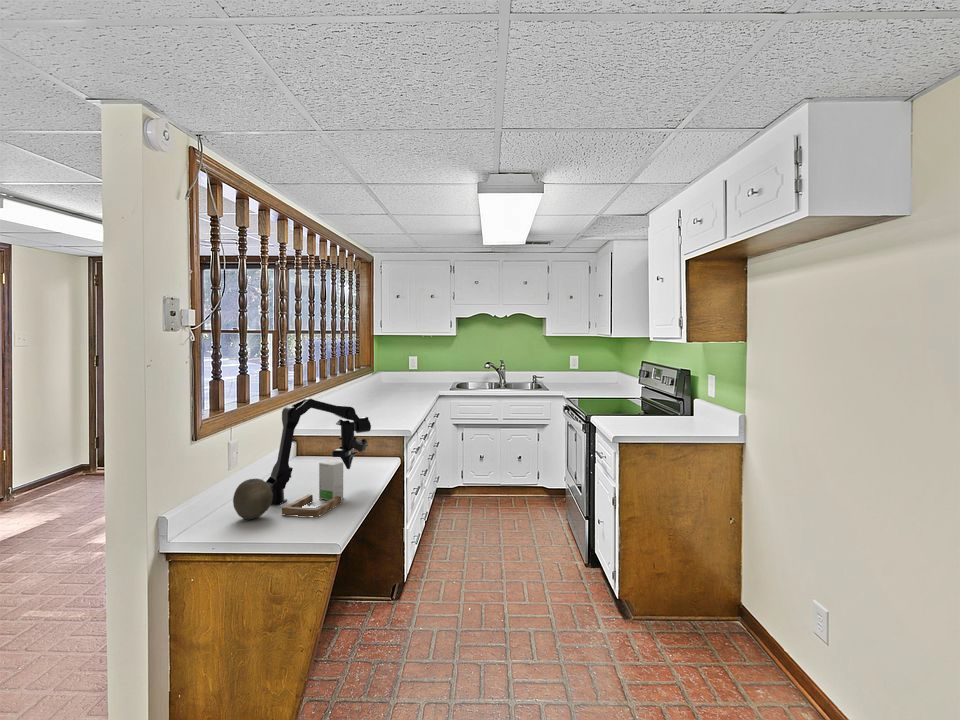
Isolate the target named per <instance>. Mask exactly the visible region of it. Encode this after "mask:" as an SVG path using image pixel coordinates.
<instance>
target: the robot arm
mask: <svg viewBox="0 0 960 720" xmlns="http://www.w3.org/2000/svg"><path fill="white" fill-rule="evenodd" d="M311 409H315V410H319V411H323V412H326V413H329V414H330V413H331V414H333V415H335V416H337V417H339V418H341V419H338V421H337V422H336V423H335V425H337V426H340V436H339V437H338V439H339V440H340V441H341V442H340V444H341V445H340V446H339V448H336V449H334V450H333V451H332V452H331V455H332V457H333V458H340V460H341V461H342V462H343V465H344V466H345V468H346V470H350V469H351V467H352V463H353V459H354V457H355V455H357V454H358V452H360V453H363V452H364V451H366V448H367V447H368V439H366V438H362V439H358V437H357V436H356V435H355V433H357V434H359V433H368V432H370V431H371V429H372V424H371V421H370V420H369V416H363V417H359V416H358V414H357V413H356V410H355V408H354V407H352V406H349V405H341V404H340V405H338V404H336V405H335V404H331V403H328V402H324V401H321V400H320V401H319V400H316V399H313V398H310V397H305V398H304V399H302V400H300V401H297V402H296V403H293V404H292V405H289V406H285V407H284V408H283V409H282V410H281V422H282V423H281V424H282V432H281V438H280V443H279V449H278V454H277V455H278V456H277V460H276V463H275V464H274V465H273V467H272V470H271V473H270V476H269V478H267V480H266V481H265V482H266V483H267V484H268V485H269V486H270V488H271V490H272V493H273V498H272V503H271V505H274V504H279V505H281V504H283V503H285V501H286V502H287V501H288V499H287V498H286V499H285V490H286V487H287V484H288V483H289V481H290V478H291V479H292V472H293V470H294V469H293V467H291V466H290V463H289V462H290V456H291V450H292V445H293V439H294V435H295V434H294V433H295V429H296V428H297V426H298V424H299V422H300V419H301V416H303V415H305V414H306V413H307V412H308V411H309V410H311ZM343 419H344V420H343ZM355 450H356V451H355ZM357 451H358V452H357ZM282 502H283V503H282ZM280 503H281V504H280Z"/></svg>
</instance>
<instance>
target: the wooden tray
mask: <svg viewBox="0 0 960 720" xmlns="http://www.w3.org/2000/svg"><path fill="white" fill-rule="evenodd" d="M313 496H314V495H313V494H309V493H308V494H307V495H304V496H302V497H300V498H299V499H296V500H294V501H293V502H291V503H289V504H287V505H285V506H283V507H281V515H282V514H285V515H298V516H313V517H318V516H319V515H321V514H323V513H325V512H326V511H328V510H330V509H331V510H333V509H334V508H333V507H335V506H336V507H338V506H340V505H341V504H342V499H341V496H336V497H334V498H332V499H331V500H329V501H328V500H326V501H325V502H324V503H321V504H319V505H320V506H318V507H316V508H302V506H304V505H306V504H308V503H310V502H312V501H313V502H314V500H313V499H314V497H313ZM313 502H312V503H313ZM340 503H341V504H340ZM310 504H311V503H310ZM339 504H340V505H339ZM308 505H309V504H308ZM337 505H338V506H337ZM336 507H335V508H336ZM332 508H333V509H332ZM331 510H330V511H331ZM328 512H329V511H328ZM326 513H327V512H326ZM326 513H325V514H326ZM323 515H324V514H323ZM321 516H322V515H321ZM318 518H319V517H318Z"/></svg>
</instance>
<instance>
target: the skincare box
mask: <svg viewBox="0 0 960 720" xmlns="http://www.w3.org/2000/svg"><path fill="white" fill-rule="evenodd" d="M318 472H319V473H318V476H319V478H318V490H319V491H318V499H319V500H322V499H325V500H324V501H328V500H331V499H332V498H334V497H336V496H341V498H342V499H344V462H343V461H338V460H331V459H328V460H324V461H320V462H318Z"/></svg>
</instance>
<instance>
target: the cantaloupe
mask: <svg viewBox="0 0 960 720" xmlns="http://www.w3.org/2000/svg"><path fill="white" fill-rule="evenodd" d="M272 498H273V493H272V490H271V488H270V486H269V485H268V484H267V483H266V481H264V479H261V478H249V479H245V480H243V481H242V482H241V483H240V484H239V485H237V487H236V489H235V491H234V493H233V497H232V503H233V508H234V511H235V512H236V514H237V516H239V517H240V518H242V519H244V520H247V519H250V520H254V519H258V518H260V517H261V516H262V515H263V514H265V513H267V511H269V508H271V505H272V504H271V503H272Z"/></svg>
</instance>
